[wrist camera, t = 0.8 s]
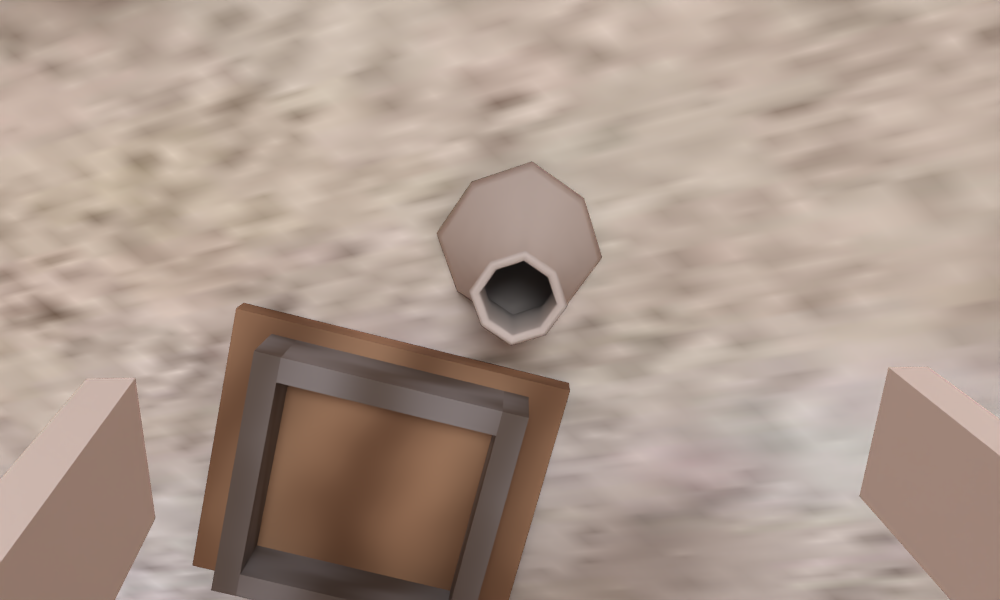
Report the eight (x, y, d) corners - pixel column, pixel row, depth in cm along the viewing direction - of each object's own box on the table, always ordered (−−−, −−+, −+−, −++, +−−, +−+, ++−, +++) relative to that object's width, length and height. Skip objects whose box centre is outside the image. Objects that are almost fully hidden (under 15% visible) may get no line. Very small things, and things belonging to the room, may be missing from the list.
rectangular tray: (568, 382, 39) (573, 411, 35) (498, 624, 42) (496, 671, 39) (243, 302, 38) (216, 324, 35) (200, 554, 42) (171, 595, 38)
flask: (503, 348, 38) (497, 435, 29) (409, 227, 37) (369, 277, 27) (628, 259, 37) (666, 320, 27) (536, 132, 36) (541, 149, 26)
